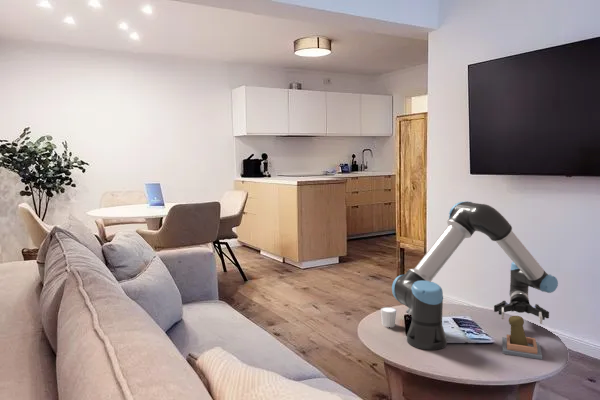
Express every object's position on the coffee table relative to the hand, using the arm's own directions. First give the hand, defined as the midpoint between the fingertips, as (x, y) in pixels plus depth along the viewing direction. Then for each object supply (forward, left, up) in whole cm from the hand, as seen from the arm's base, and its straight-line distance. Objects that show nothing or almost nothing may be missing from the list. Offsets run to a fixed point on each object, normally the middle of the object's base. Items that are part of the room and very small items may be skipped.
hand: (521, 318), depth 173 cm
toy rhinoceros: (-41, +11, -10) cm, 44 cm away
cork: (-1, -8, -8) cm, 11 cm away
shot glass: (-52, -3, -10) cm, 53 cm away
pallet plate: (0, -8, -9) cm, 12 cm away
